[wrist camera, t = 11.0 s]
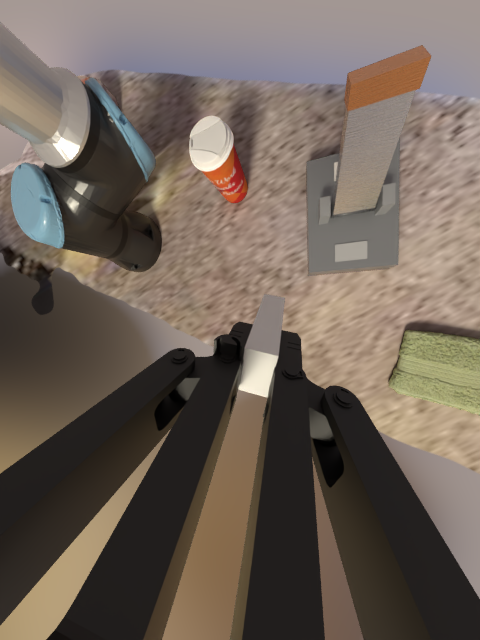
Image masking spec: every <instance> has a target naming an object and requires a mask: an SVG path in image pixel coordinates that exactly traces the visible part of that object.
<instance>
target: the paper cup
mask: <svg viewBox="0 0 480 640" xmlns="http://www.w3.org/2000/svg"><path fill="white" fill-rule="evenodd" d="M189 148H190V150H189V152H190V157H191V160H192V162H193V164H194V165H195V167H196V168H197V169H199V170H201V171H202V172H203V173H204V174H205V175H206V177H207V178H208V179H209V180H210V181H211V182H212V184H213V185H214V186H215V187H216V188H217V189H218V190H219V192H220V193H221V194H222V195H223V196H224V197H225V198H226V199H227V200H228V201H229V202H231V203H238V202H240V201H242V200H243V199H244V197H245V196H246V194H247V190H248V186H247V182H246V179H245V176H244V173H243V170H242V167H241V164H240V161H239V158H238V155H237V153H236V150H235V147H234V144H233V133H232V131H231V130H230V128H229V126H228V125H227V124H226V123H225V122H223V121H222V120H221V119H220V118H218V117H216V116H207V117H205V118H203V119H201V120H200V121H199V122H198V123H197V124H196V125H195V126H194V128H193V129H192V131H191V134H190V140H189Z"/></svg>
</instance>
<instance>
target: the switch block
mask: <svg viewBox="0 0 480 640" xmlns="http://www.w3.org/2000/svg"><path fill="white" fill-rule="evenodd" d="M399 157H400V137H399V140H398V143H397V145H396V148H395V151H394V154H393V157H392V160H391V163H390V166H389V169H388V171H387V174H386V177H385V180H384V183H383V186H382V189H381V192H380V194H379V197H378V203H377V207H376V209H375V211H370V212H365V213H359V214H353V215H347V216H341V217H335V218H331V203H332V202H333V196H334V188H335V181H336V174H337V166H338V159H339V153H338V154H334V155H330V156H326V157H322V158H319V159H315V160H311V161H307V168H306V191H307V244H308V276H312V275H324V274H335V273H347V272H358V271H370V270H381V269H389V268H391V267H394V266H396V265H398V243H399Z"/></svg>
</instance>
